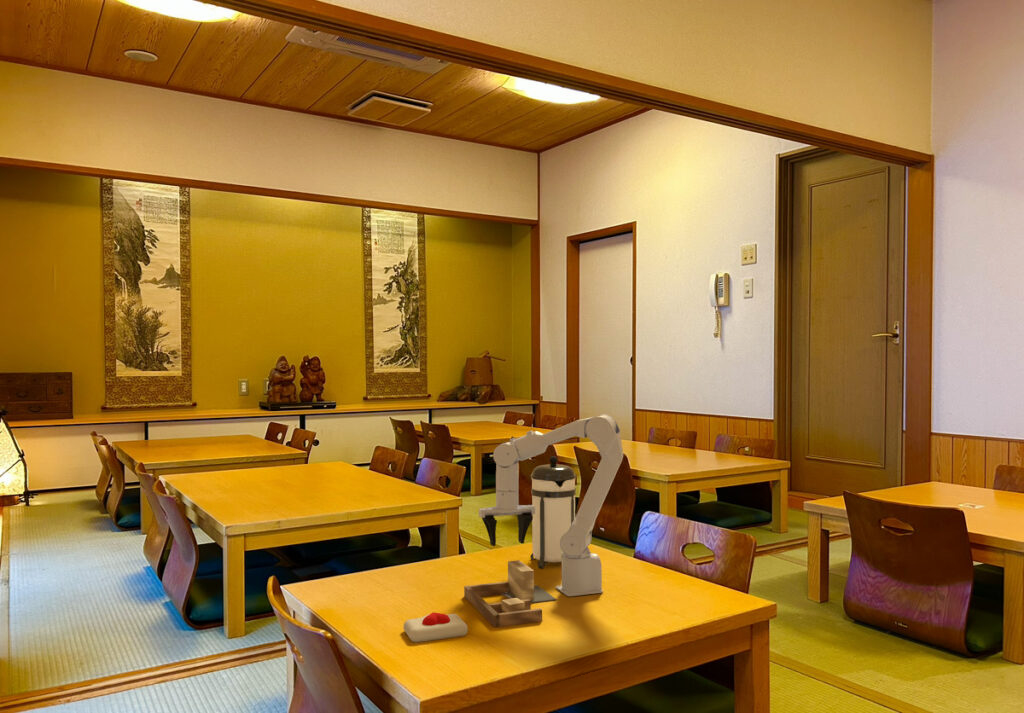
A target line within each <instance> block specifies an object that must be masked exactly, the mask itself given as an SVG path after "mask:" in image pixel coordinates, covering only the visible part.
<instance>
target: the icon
mask: <svg viewBox="0 0 1024 713" xmlns="http://www.w3.org/2000/svg"><path fill="white" fill-rule="evenodd" d="M468 628H469V627H468V625H467V623H465V621H464V620H462V618H461V617H460V616H458V614H456V613H450V614H446V613H440V612H435V611H434V612H431V613H429V614H426V615H424V616H421V617H419V618H418V617H417V618H410V619H407V620H405V622H404V623H403V631H404V633H406V635H407V636H408V638H409V639H410V641H411V642H413V643H421V642H422V643H423V642H428V641H436V640H437V641H438V640H444V639H450V638H458V637H463V636H466V635H467V633H468Z"/></svg>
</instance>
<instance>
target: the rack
mask: <svg viewBox="0 0 1024 713" xmlns="http://www.w3.org/2000/svg"><path fill="white" fill-rule="evenodd" d="M463 588H464V589H463V591H464V592H463V593H464V594H463V595H464V596H463V597H464V598H465V599H466V600H467V601H468V602H469V603H470V604H471V605H472V606H473V607H474V608H475V609H476V610H477V611H478V612H479V613H480V614H481V615H482V616H483V617H484V619H486V621H487V622H489V624H490V625H491V626H492V627H493V628H499V627H508V626H516V625H524V624H530V623H531V624H532V623H537V622H538V623H540V622H543V609H542V608H533V609H532V606H531V605H532V603H531V600H529V599H526V600H522V601H523V602H525V610H523V611H515V612H506V613H502V601H501V602H493V603H488V602H487V601H486V600H485V599H484V598H483V596H493V595H502V594H508V593H507V592H509V583H508V581H500V582H491V583H490V582H489V583H481V584H473V585H472V584H471V585H464V587H463Z"/></svg>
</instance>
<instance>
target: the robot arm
mask: <svg viewBox="0 0 1024 713" xmlns="http://www.w3.org/2000/svg"><path fill="white" fill-rule="evenodd" d="M621 434H622V433H621V428H620V427H619V425H618V422H617V421H616V418H614V416H611V415H610V414H605V413H603V414H599V415H598V416H590V417H587V418H586V417H585V418H582V419H577V420H575V421H572V422H570V423H567V424H565V425H563V426H560V427H558V428H555V429H553V430H551V431H547V432H546V433H542V432H540V431H537V430H535V431H533V430H529V431H526V434H525V435H522V436H520V437H517V438H515V437H512V438H509V441H507V442H503V443H500V444H499V445H498V446H496V447H495V448H494V451H493V461H494V462H495V464H496V465H495V466H496V468H495V469H496V470H495V506H491V507H489V506H488V507H484V508H478V517H479V518H481V520H482V521H483V524H484V526H485V528H486V530H487V535H488V538H489V544H490V545H491V546H492V547H495V546H496V544H497V537H496V536H497V535H496V532H497V523H498V520H496V518H495V517H502V516H516V517H517V518H516V519H517V523H518V524H517V525H518V526H517V527H518V536H517V538H518V542H519V543H520V544H525V539H526V535H527V532H528V530H529V527H530V525H531V523H532V519H533V516H532V514H535V506H533V505H532V504H527V505H525V504H524V505H523V504H522V505H521V504H519V499H520V497H519V496H520V495H519V488H520V487H519V480H520V479H519V461H521V462H522V461H525V460H528V459H530V458H533V457H536V456H539V455H542V454H544V453H545V452H546V451H547V449H548V446H551V445H553V444H556V443H559V442H562V441H565V440H568V439H570V438H573V437H578V438H582V439H586V438H587V439H589V440H590V441H591V442H592V443H593V444H594V446H596V449H597V450H598V453H599V455H600V457H601V459H600V462H599V464H598V466H597V469H596V471H595V473H594V475H593V477H592V480H591V482H590V484H589V486H588V489H587V491H586V493H585V495H584V497H583V500H582V501H581V504H580V507H579V509H578V511H577V513H576V514H575V519H574V521H573V522H572V524H571V526H570V528H569V530H568V531H567V532H566V533H565V534H563V535H562V537H561V539H560V548H561V550H562V562H561V584H560V585H556V586H555V589H556V590H558V591H560V592H561V593H562V594H564V595H565V596H567V597H577V596H578V597H579V596H585V595H593V594H602V593H603V592H604V590H603V587H602V586H603V585H602V583H603V581H602V578H603V577H602V576H603V575H602V571H603V570H602V561H601V558H600V556H599V555H598V554H597V553H593V552H592V551H591V550H590V548H589V546H590V545H591V543H592V539H593V537H592V534H593V533H592V532H593V529H594V526H595V523H596V520H597V517H598V515H599V514H600V511H601V508H602V506H603V503H604V502H605V500H606V497H607V495H608V494H609V491H610V489H611V486H612V483H614V479H615V477H616V474H617V472H618V471H619V468H620V466H621V464H622V462H623V460H624V459H623V458H624V450H623V449H624V448H623V444H622V443H623V442H622V437H621ZM591 552H592V553H591Z"/></svg>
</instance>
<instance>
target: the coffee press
mask: <svg viewBox="0 0 1024 713" xmlns="http://www.w3.org/2000/svg"><path fill="white" fill-rule="evenodd" d="M548 461H549V464H542V465H537V466H536V467H534V469H533V470H532V472H531V474H530V478H531V491H530V492H531V494H530V495H532V496H531V499H532V500H531V501H532V504H531V505H533V506H535V514H531V515H532V516H533V519H532V521H531V523H532V524H531V527H532V531H531V532H532V538H531V539H532V553H531V555H530V557H529V558H530V559H531V560H532V561H534V560H538V564H537V568H538V569H545V567H546V565H547V564H548V563H562V550H561V548H560V539H561V537H562V535H563V534H565V533H566V532H567V531H568V530H569V528H570V526H571V524H572V522H573V521H574V519H575V517H576V495H577V494H576V491H577V490H576V489H577V488H576V484H575V483H576V482H575V481H576V478H577V474H576V473H575V470H574V468H572V467H570V466H568V465H565V464H557V462H558V458H557V457H556V456H555V455H554V456H550V458H549V459H548Z"/></svg>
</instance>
